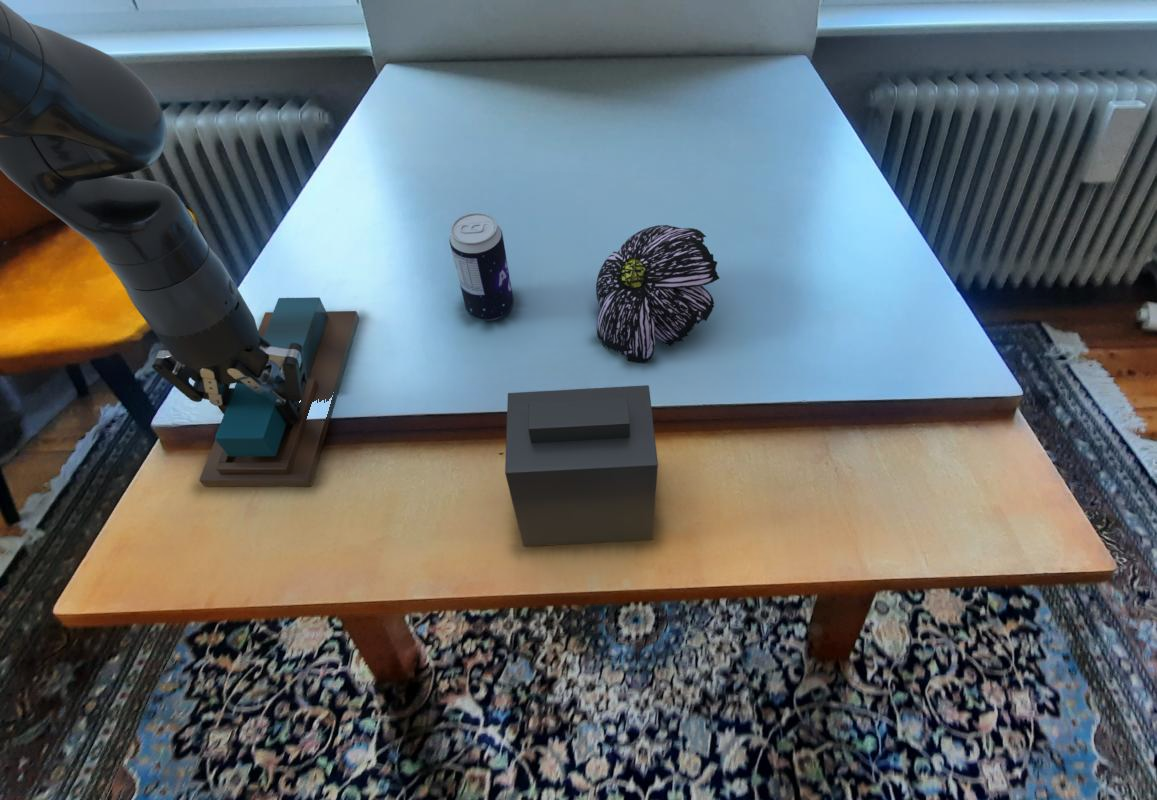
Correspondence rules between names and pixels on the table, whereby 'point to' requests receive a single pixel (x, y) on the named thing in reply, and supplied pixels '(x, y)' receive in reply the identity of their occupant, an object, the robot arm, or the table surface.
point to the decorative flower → (654, 290)
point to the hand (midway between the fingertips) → (268, 417)
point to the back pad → (250, 424)
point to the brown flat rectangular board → (325, 364)
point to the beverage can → (481, 266)
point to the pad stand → (582, 465)
